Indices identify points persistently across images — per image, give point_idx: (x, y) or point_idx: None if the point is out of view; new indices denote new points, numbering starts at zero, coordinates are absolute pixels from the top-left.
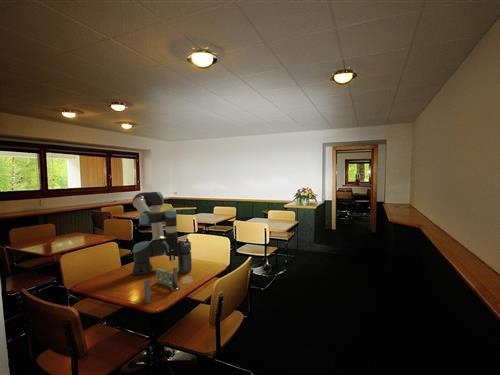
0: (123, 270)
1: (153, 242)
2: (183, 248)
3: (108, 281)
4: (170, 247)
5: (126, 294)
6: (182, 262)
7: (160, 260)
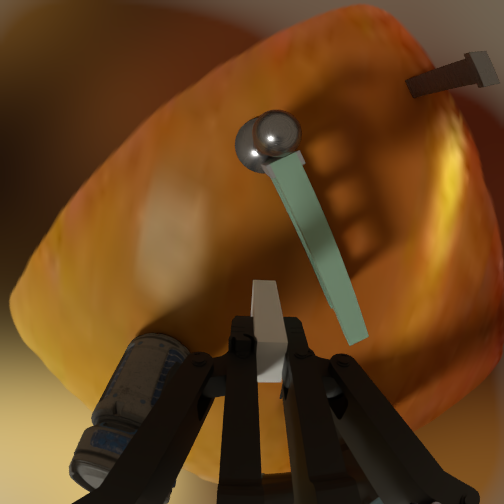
0: None
1: None
2: None
3: (450, 375)
4: (321, 470)
5: (464, 231)
6: (162, 382)
7: None
